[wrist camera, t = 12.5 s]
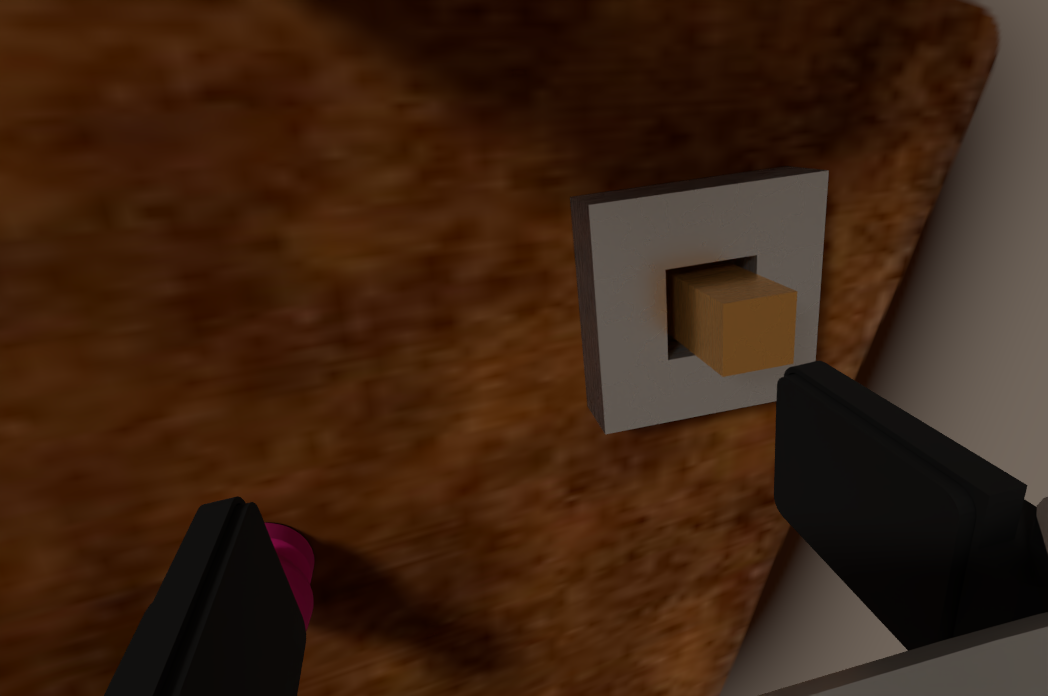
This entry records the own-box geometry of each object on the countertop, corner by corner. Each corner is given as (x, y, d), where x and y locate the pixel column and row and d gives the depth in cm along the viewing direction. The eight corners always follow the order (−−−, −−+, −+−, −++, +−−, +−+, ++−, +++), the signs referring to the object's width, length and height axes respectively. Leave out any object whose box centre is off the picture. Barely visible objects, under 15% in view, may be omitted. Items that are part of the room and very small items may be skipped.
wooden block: (654, 265, 38) (723, 303, 30) (713, 255, 39) (797, 291, 30) (656, 324, 40) (722, 377, 31) (713, 314, 40) (793, 363, 32)
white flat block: (569, 196, 36) (588, 204, 32) (787, 166, 37) (828, 170, 34) (587, 406, 41) (605, 434, 37) (778, 370, 42) (813, 393, 39)
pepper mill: (326, 518, 40) (256, 852, 22) (317, 604, 42) (246, 974, 24) (209, 511, 38) (24, 867, 20) (206, 602, 41) (37, 997, 22)
